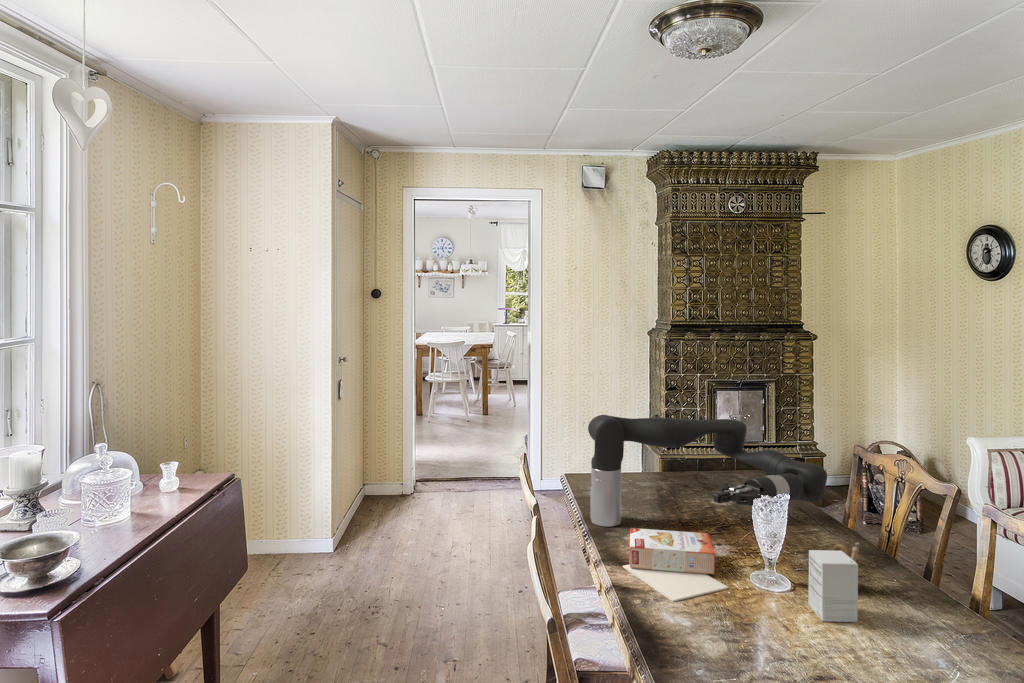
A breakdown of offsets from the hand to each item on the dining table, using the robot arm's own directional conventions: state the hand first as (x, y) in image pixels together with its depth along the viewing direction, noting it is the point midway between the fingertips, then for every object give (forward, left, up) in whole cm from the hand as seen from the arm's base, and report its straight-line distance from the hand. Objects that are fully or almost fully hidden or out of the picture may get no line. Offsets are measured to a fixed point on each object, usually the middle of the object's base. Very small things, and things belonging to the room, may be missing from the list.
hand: (715, 498), depth 148 cm
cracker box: (-2, 0, -14) cm, 15 cm away
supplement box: (+28, +7, -18) cm, 34 cm away
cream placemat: (0, -13, -18) cm, 22 cm away
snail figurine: (+21, +20, -18) cm, 34 cm away
